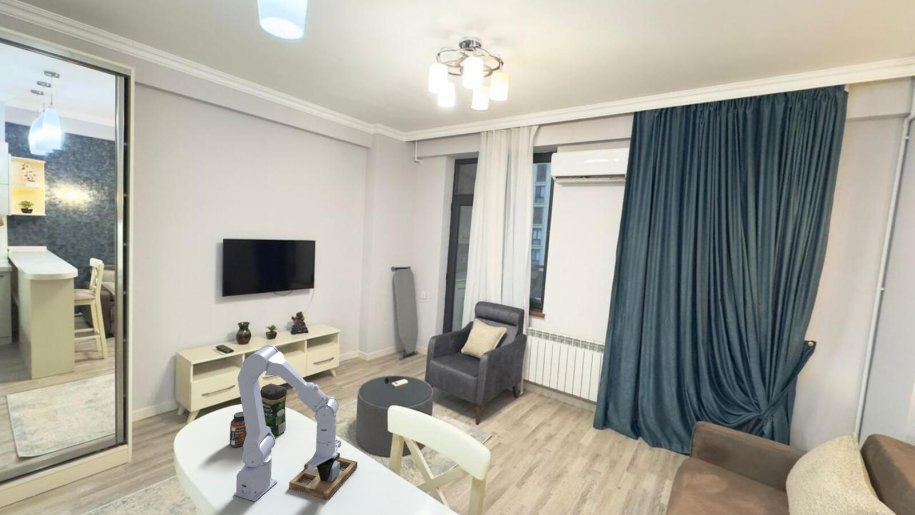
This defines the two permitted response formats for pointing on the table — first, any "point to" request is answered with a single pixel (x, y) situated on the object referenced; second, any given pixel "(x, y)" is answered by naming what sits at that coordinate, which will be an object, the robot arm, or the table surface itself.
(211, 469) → the table surface
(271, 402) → the coffee jar
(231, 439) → the supplement bottle
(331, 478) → the slate block
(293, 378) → the robot arm
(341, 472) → the brown compartment tray
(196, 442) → the table surface
